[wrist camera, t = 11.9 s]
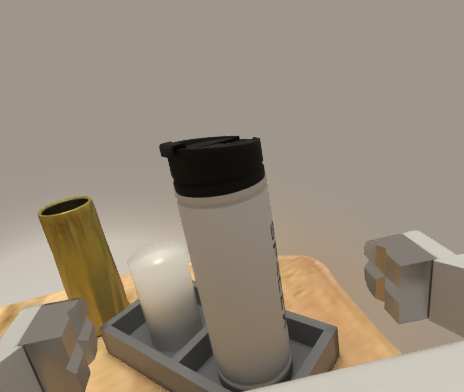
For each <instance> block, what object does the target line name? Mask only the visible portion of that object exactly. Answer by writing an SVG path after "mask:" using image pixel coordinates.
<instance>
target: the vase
mask: <svg viewBox="0 0 464 392" xmlns="http://www.w3.org/2000/svg"><path fill="white" fill-rule="evenodd" d="M38 217H39V219H40V222H41V225H42V228H43V230H44V233H45V235H46V238H47V241H48V243H49V246H50V248H51V251H52V253H53V256H54V259H55V262H56V265H57V268H58V271H59V274H60V277H61V279H62V282H63V285H64V288H65V291H66V293H67V296H68V299H69V300H71V299H76V298H83V299H84V300H85V301H86V303H87V306H88V309H89V312H88V315H87V317H86V319H88V320H89V321H91V322H92V323H94V326H95V329H96V333H97V336H101V332H100V330H99V328H100V327H101V326H103V325H104V324H105V323H107V322H108V321H109V320H111V319H112V318H113V317H115V316H116V315H117V314H119V313H120V312H122V311H123V310H124V309H126V308H127V307H128V306H130V303H129V302H128V300H127V297H126V294H125V291H124V287H123V284H122V281H121V279H120V276H119V273H118V270H117V268H116V265H115V262H114V260H113V257H112V254H111V252H110V249H109V246H108V244H107V241H106V238H105V235H104V232H103V230H102V227H101V224H100V221H99V218H98V215H97V212H96V209H95V206H94V203H93V201H92V199H91V198H90V197H87V196H82V197H74V198H69V199H65V200H62V201H58V202H55V203H53V204H50V205H48V206H46V207H44V208H43V209H41V210H40V211H39V212H38Z"/></svg>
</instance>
